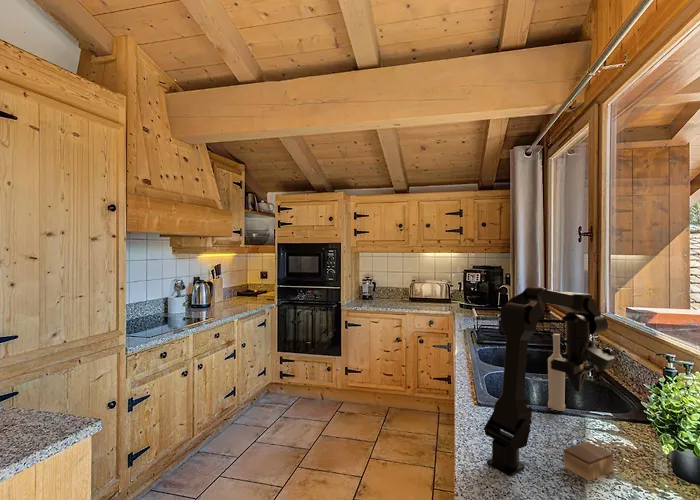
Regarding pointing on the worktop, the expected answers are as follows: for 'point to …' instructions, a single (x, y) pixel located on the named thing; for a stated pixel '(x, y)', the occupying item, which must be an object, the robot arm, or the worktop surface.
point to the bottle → (556, 379)
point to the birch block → (588, 460)
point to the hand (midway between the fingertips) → (577, 391)
